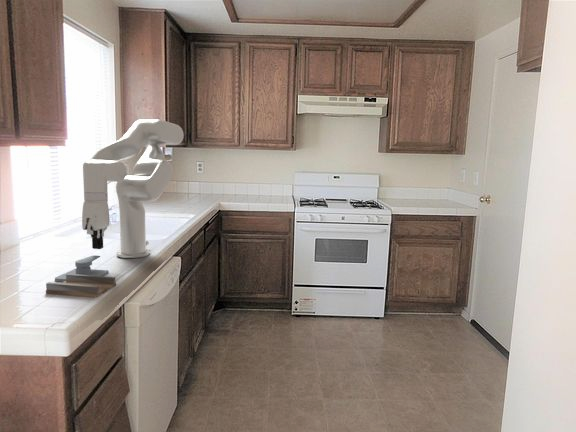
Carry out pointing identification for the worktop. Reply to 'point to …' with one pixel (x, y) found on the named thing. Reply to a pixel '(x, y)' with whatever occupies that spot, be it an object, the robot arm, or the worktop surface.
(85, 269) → the shower valve
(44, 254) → the worktop surface
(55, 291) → the stand
